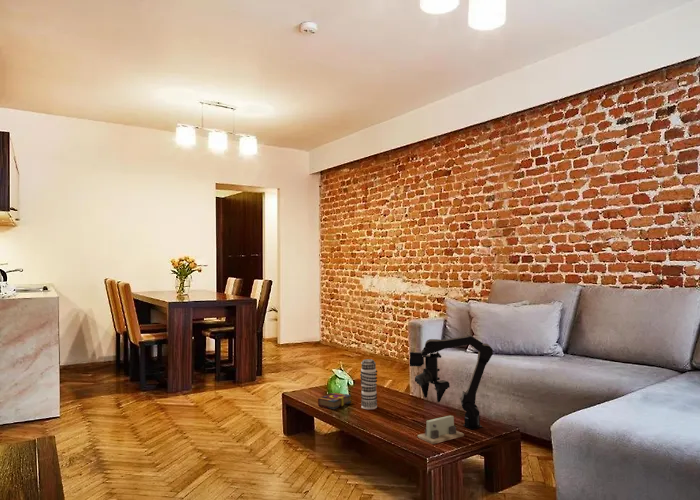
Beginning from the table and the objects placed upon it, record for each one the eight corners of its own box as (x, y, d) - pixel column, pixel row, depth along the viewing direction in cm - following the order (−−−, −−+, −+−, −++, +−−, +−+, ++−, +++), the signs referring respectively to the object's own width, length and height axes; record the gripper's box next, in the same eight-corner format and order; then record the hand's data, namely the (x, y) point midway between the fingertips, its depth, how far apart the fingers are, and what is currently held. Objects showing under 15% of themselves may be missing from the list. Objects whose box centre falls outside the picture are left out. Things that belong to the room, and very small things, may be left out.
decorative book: (317, 406, 273) (317, 397, 273) (336, 399, 286) (335, 390, 286) (334, 409, 266) (333, 400, 266) (352, 402, 279) (352, 393, 279)
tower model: (378, 409, 264) (377, 361, 265) (360, 409, 264) (359, 361, 265) (377, 404, 273) (376, 358, 274) (360, 404, 274) (359, 358, 274)
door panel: (450, 430, 227) (450, 415, 227) (455, 432, 224) (455, 416, 225) (426, 436, 220) (426, 420, 220) (431, 438, 217) (430, 422, 217)
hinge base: (448, 429, 232) (448, 420, 232) (463, 436, 223) (463, 426, 223) (417, 437, 222) (417, 428, 222) (432, 444, 214) (432, 434, 214)
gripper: (405, 365, 242) (406, 398, 242) (431, 372, 226) (432, 407, 226) (423, 362, 248) (424, 394, 248) (450, 369, 232) (450, 403, 232)
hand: (432, 399), depth 238 cm, fingers open, 9 cm apart
